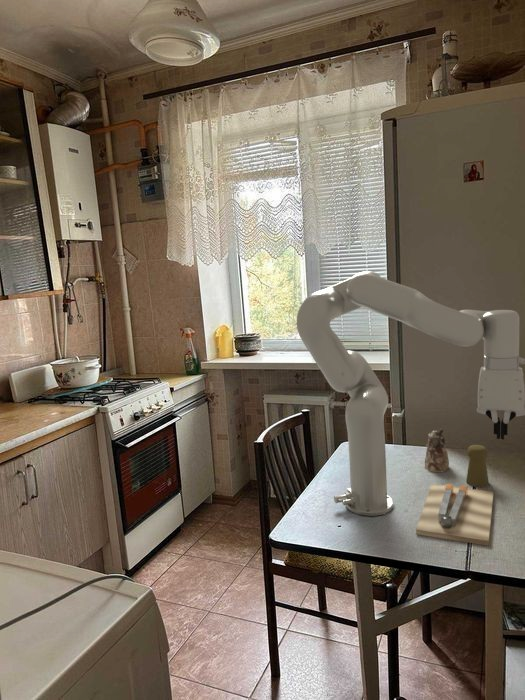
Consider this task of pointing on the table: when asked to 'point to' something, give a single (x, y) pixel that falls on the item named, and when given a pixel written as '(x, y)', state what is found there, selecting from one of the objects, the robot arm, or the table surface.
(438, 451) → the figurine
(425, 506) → the board
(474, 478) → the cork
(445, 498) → the arm
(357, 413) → the robot arm
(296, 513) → the table surface
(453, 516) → the tongs arm
